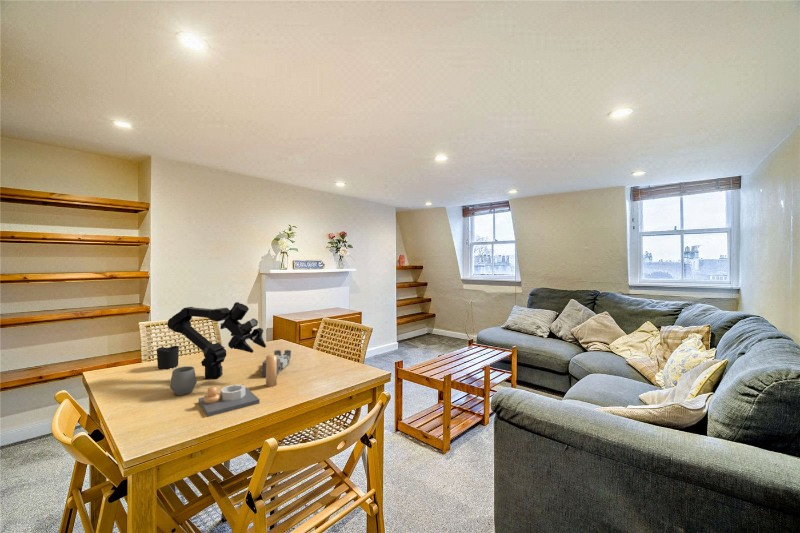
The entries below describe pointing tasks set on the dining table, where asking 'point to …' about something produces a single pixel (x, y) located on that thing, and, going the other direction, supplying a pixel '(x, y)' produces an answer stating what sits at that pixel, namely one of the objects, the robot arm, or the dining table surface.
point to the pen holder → (167, 357)
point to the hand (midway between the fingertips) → (259, 349)
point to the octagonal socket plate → (227, 399)
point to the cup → (183, 380)
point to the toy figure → (279, 361)
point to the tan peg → (271, 370)
